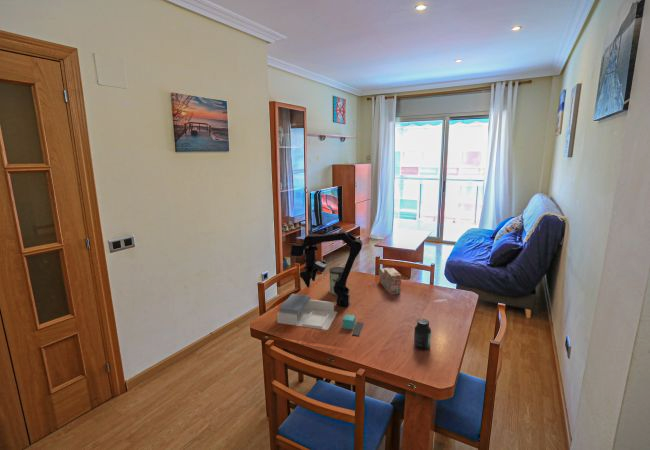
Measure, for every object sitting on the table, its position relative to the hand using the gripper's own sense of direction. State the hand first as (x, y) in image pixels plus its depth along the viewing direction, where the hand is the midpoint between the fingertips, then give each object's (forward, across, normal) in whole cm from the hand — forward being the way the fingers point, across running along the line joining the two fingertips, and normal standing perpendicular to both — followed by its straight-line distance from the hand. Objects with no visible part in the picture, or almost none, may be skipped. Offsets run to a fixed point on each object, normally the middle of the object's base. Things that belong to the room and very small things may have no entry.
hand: (311, 284), depth 186 cm
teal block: (+12, -20, -26) cm, 35 cm away
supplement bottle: (+12, -27, -60) cm, 67 cm away
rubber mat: (+12, -20, -26) cm, 35 cm away
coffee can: (+12, +21, -10) cm, 26 cm away
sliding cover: (+5, -16, +3) cm, 17 cm away
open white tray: (+12, -16, -4) cm, 21 cm away
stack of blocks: (+12, +35, -40) cm, 54 cm away
